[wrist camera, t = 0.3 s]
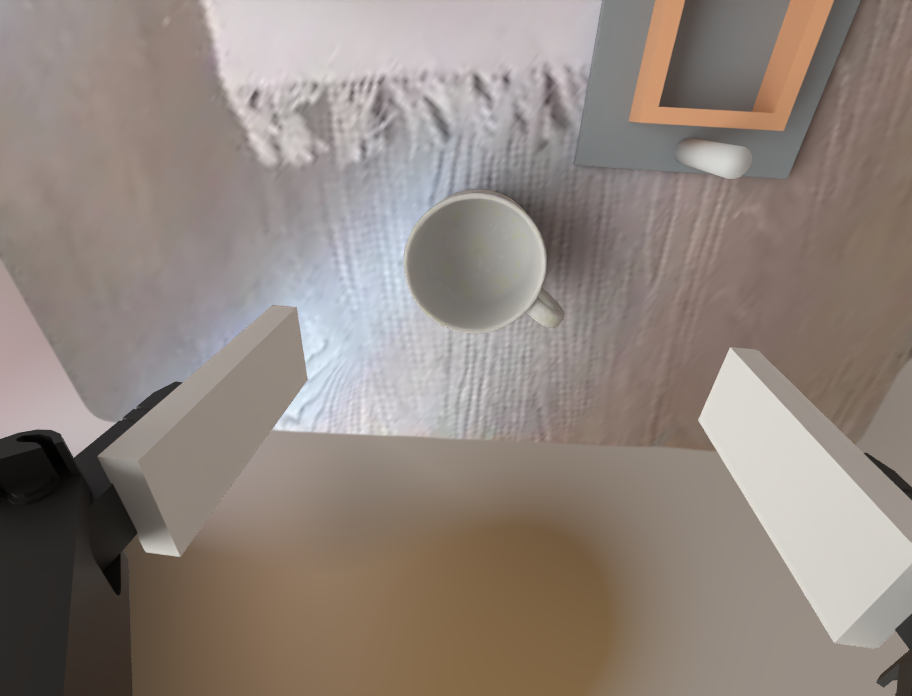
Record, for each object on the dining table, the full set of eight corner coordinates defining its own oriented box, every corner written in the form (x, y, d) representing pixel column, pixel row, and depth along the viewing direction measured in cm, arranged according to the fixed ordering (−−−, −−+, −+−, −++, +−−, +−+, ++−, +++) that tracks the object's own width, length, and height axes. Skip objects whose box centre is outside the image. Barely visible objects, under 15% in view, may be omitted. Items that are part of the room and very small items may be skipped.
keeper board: (621, -112, 27) (671, -206, 19) (891, -106, 26) (1065, -202, 18) (574, 163, 35) (594, 180, 27) (778, 176, 34) (863, 198, 26)
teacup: (397, 240, 39) (374, 268, 32) (481, 148, 35) (475, 158, 28) (499, 337, 43) (498, 382, 36) (587, 267, 39) (605, 302, 32)
